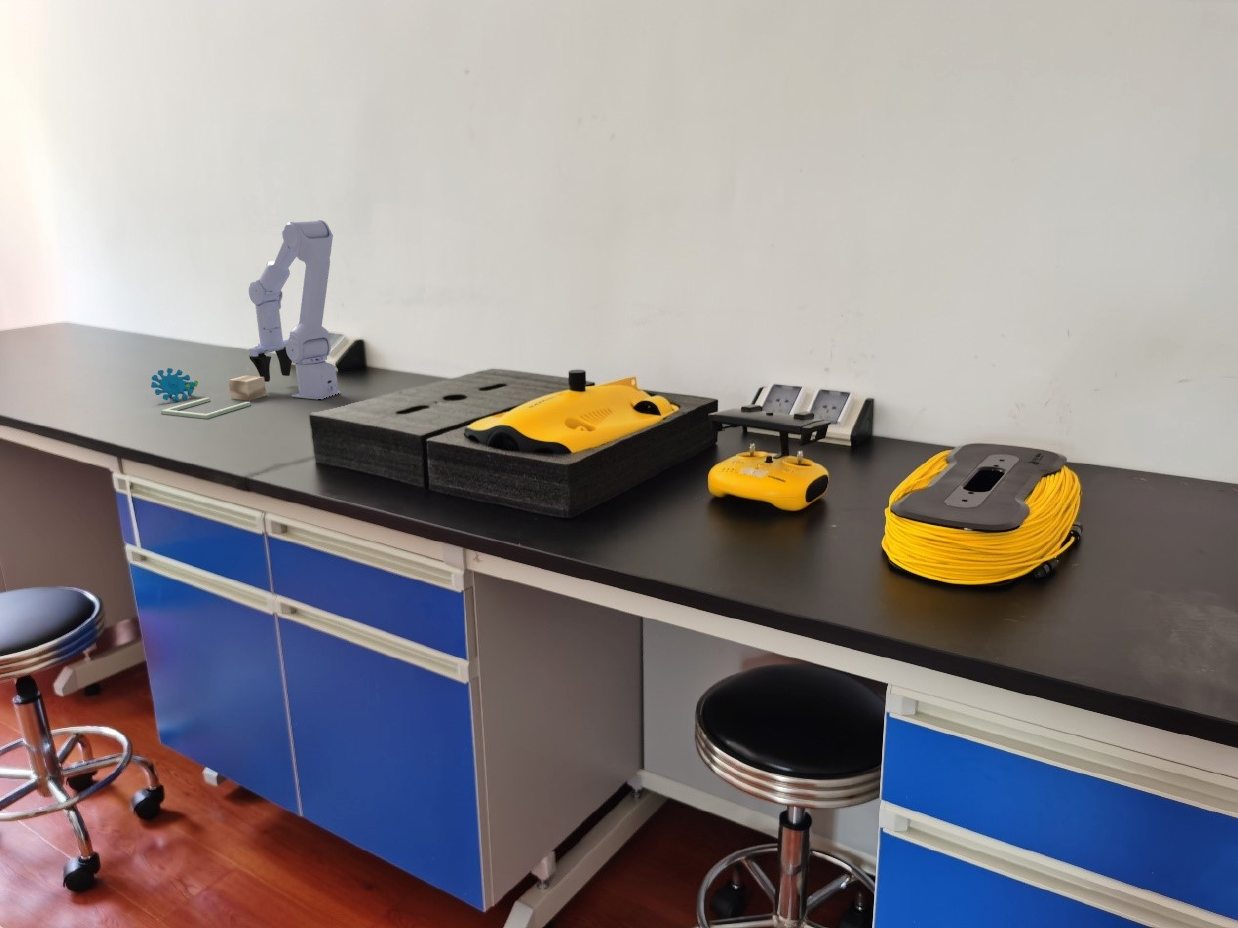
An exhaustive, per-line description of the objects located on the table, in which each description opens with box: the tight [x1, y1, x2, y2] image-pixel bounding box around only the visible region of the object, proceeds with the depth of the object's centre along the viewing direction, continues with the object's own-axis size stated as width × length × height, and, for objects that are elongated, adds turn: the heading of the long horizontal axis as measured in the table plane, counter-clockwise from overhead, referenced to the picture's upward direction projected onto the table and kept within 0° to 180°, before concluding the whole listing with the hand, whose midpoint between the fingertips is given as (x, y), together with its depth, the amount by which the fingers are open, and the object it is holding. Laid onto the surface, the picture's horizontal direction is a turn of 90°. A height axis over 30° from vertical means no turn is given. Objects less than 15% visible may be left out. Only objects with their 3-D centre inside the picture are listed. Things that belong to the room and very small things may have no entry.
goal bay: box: [160, 397, 251, 420], centre depth 221 cm, size 14×14×1 cm
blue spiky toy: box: [150, 367, 199, 403], centre depth 233 cm, size 11×6×10 cm
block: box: [228, 375, 267, 401], centre depth 233 cm, size 6×6×5 cm
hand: (276, 378), depth 242 cm, fingers open, 7 cm apart
